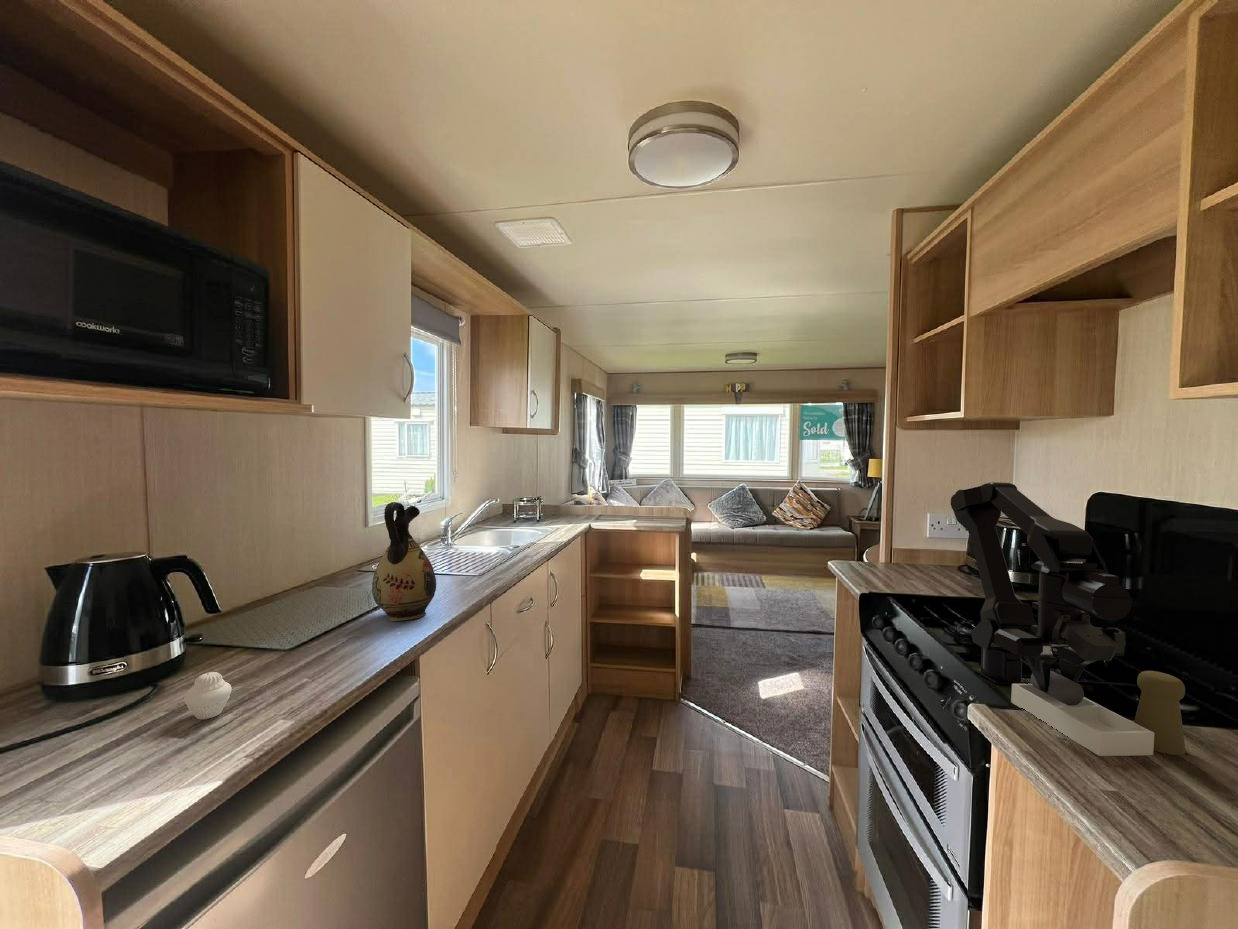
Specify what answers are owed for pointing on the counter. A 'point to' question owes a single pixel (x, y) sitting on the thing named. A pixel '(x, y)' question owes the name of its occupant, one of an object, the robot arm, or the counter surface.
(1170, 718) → the cork
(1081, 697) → the dark grey cylinder
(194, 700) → the muffin
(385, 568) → the ceramic jug
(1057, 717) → the slot tray
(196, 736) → the counter surface
